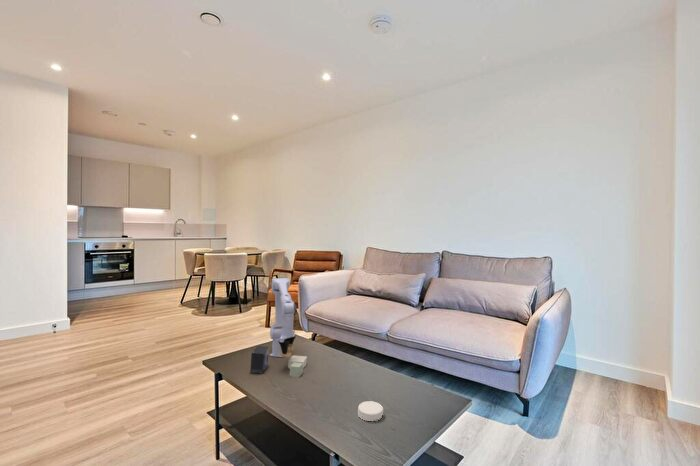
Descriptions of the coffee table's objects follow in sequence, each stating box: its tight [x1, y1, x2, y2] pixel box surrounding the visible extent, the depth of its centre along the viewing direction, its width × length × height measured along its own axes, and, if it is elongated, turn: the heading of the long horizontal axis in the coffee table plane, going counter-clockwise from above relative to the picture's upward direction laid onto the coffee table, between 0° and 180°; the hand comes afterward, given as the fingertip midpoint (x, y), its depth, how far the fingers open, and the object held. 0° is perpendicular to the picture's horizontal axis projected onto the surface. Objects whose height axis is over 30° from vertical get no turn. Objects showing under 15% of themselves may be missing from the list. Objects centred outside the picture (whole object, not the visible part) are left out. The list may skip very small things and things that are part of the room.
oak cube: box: [280, 344, 294, 358], centre depth 171 cm, size 5×5×5 cm
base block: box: [287, 354, 308, 369], centre depth 176 cm, size 8×8×4 cm
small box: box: [249, 345, 270, 375], centre depth 169 cm, size 11×6×10 cm, turn 179°
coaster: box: [357, 400, 384, 421], centre depth 130 cm, size 10×10×4 cm
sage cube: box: [289, 362, 304, 378], centre depth 165 cm, size 5×5×5 cm
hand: (286, 351), depth 171 cm, fingers closed on oak cube, 5 cm apart
